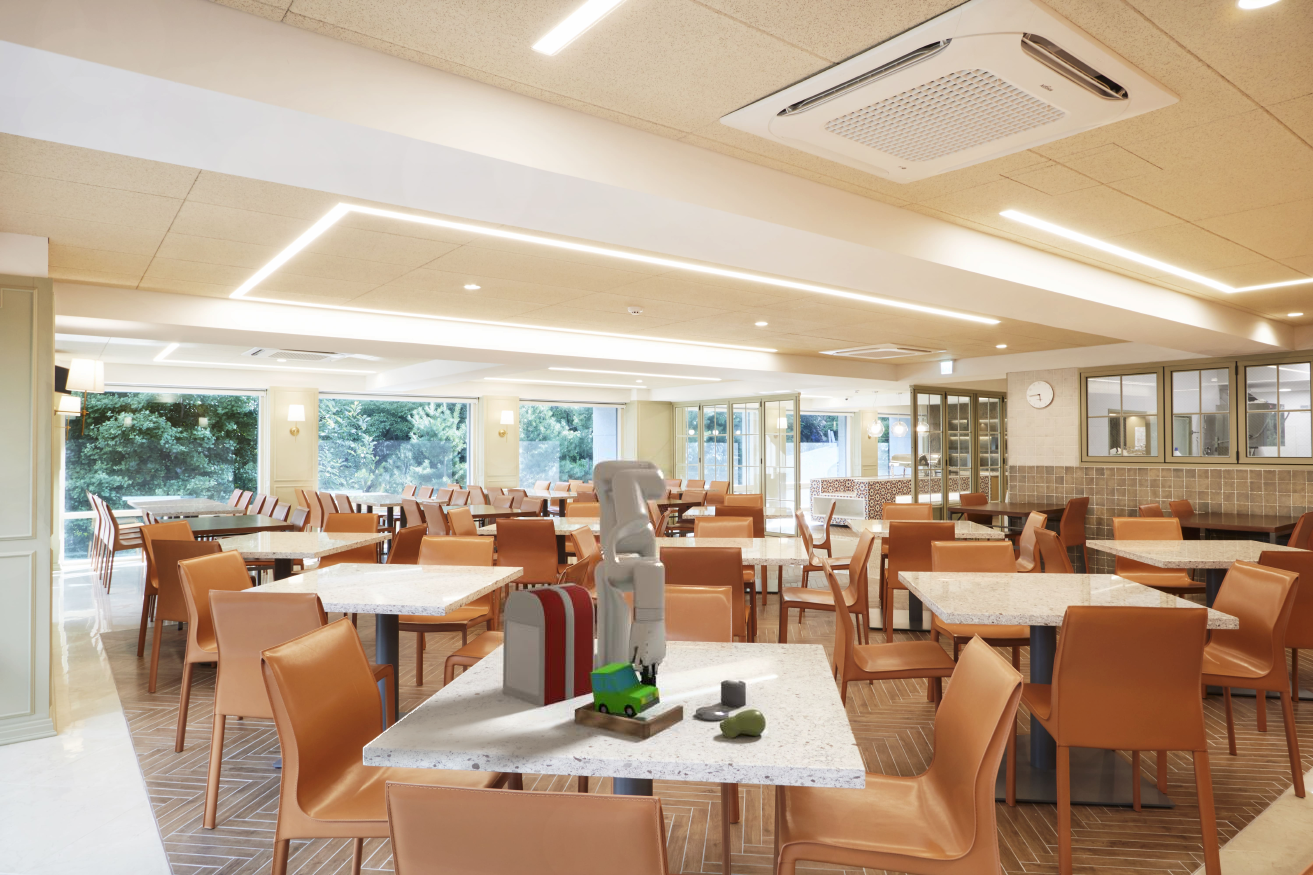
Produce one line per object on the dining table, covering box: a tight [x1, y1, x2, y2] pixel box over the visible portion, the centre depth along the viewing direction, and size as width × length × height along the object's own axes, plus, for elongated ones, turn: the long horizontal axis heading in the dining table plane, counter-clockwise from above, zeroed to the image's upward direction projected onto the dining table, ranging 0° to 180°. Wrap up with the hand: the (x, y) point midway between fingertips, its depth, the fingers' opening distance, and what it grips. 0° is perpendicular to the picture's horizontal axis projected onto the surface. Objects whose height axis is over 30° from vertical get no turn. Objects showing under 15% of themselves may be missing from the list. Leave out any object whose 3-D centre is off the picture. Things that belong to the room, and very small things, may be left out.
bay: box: [574, 701, 684, 740], centre depth 174 cm, size 19×15×3 cm
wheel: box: [720, 678, 747, 709], centre depth 188 cm, size 6×6×6 cm
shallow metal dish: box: [695, 705, 730, 722], centre depth 178 cm, size 8×8×1 cm
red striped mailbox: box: [502, 582, 596, 708], centre depth 197 cm, size 16×18×27 cm
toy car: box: [590, 663, 661, 719], centre depth 177 cm, size 10×13×10 cm
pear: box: [719, 709, 767, 740], centre depth 165 cm, size 6×5×10 cm
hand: (648, 692), depth 180 cm, fingers closed
